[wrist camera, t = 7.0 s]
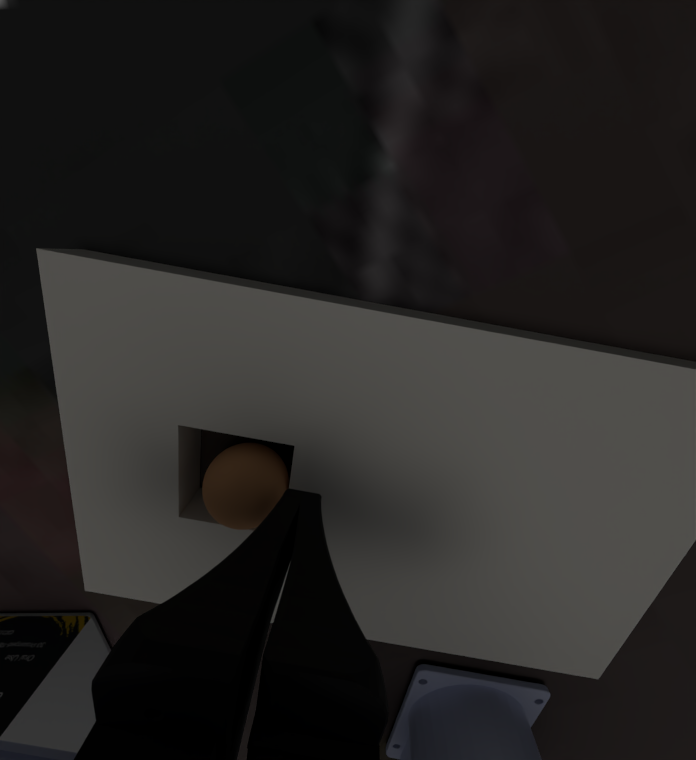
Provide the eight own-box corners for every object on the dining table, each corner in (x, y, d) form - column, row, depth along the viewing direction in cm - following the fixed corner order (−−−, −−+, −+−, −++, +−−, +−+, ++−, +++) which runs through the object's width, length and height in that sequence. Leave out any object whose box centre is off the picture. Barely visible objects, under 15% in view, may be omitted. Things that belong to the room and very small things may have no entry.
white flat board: (740, 370, 13) (801, 388, 11) (575, 637, 19) (598, 679, 17) (83, 249, 13) (36, 248, 11) (113, 556, 19) (85, 590, 17)
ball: (292, 510, 16) (259, 561, 13) (225, 488, 17) (177, 531, 13) (307, 444, 15) (276, 480, 12) (237, 422, 16) (188, 450, 13)
